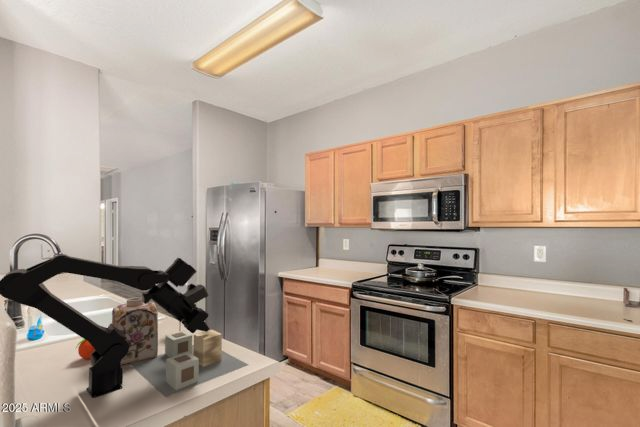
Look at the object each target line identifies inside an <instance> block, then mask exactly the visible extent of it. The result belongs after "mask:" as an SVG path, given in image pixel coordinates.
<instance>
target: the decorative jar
mask: <svg viewBox="0 0 640 427" xmlns="http://www.w3.org/2000/svg"><path fill="white" fill-rule="evenodd" d="M156 304H157V303H156V302H154V301H149V302H148V303H147V304H144V303H143V302H142V297H140V296H138V297H131V298H127V299H126V303H123V304H119V305H116V306H114V307H113V308H112V312H111V318H112V319H111V323H112V324H113V325H114V326H115V327H116V328H117V329H118V330H122V331H123V332H124V334H125V335H126V337H127V339H126V340H127V342H128V344H129V351H128V353H127V355H126V356H125V357H124V358H123V359H122V360H121V362H120V363H121V366H123V365H126V364H131V363H135V362H138V361H141V360H145V359H149V358H153V357H157V356H158V355H159V354H158V352H159V318H158V315H159V312H158V308H157V305H156Z"/></svg>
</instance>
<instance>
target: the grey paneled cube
mask: <svg viewBox="0 0 640 427" xmlns="http://www.w3.org/2000/svg"><path fill="white" fill-rule="evenodd" d="M198 372H199V359H198V358H197V357H195V356H193V355H192V354H190V353H189V352H188V353H185V354H181V355H178V356H175V357H172V358H168V359H166V382H167V383H168V384H169V385H170V386H171V387H173V388H174V389H175V390H177V389H180V388H183V387H185V386H188V385H190V384H193V383H196V382H198Z"/></svg>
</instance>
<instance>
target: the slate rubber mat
mask: <svg viewBox="0 0 640 427" xmlns="http://www.w3.org/2000/svg"><path fill="white" fill-rule="evenodd" d="M193 353H194V344H192V355H193ZM168 358H170V357H168V356H167V355H166V354H165V353H163V354H158V355H157V357H153V358H149V359H145V360H141V361H136V362H132V363H129V365H130V366H131V367H132V368H133V369H134V370H135V371H137V372H138V374H140V375H141V376H142V377H143V378H144V379H145V380H146V381H148V383H150V385H152V386H153V387H154V388H155V389H156V390H157V391H159V392H160V394H162V395H163V396H164V397H165V398H168V397H171V396H173V395H176V394H178V393H181V392H184V391H186V390H188V389H191V388H193V387H196V386H199V385H201V384H204V383H206V382H209V381H211V380H214V379H216V378H220V377H221V376H224V375H227V374H228V373H232V372H234V371H236V370H239V369H242V368H244V367H247V366H249V364H248V363H246V362H245V361H242V360H241V359H239V358H237V357H235V356H234V355H231V354H230V353H227V352H225V351H224V350H222V356H221V361H218V362H215V363H212V364H210V365H207V366H204V367H203V366H201V365H199V372H198V382H196V383H193V384H190V385H188V386H185V387H183V388H180V389H177V390H175V389H174V388H173V387H171V386H170V385H169V384H168V383H167V382H166V359H168Z"/></svg>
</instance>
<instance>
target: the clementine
mask: <svg viewBox="0 0 640 427" xmlns="http://www.w3.org/2000/svg"><path fill="white" fill-rule="evenodd" d="M75 349H77V351H78V355H79V357H81V358H82V359H83V360H86V361H87V360H89V361H91V358H90V355H91V354H92V353H93V352H94V351H95V349H94V348H93V346H92V345H91V344H90V343H89V342H88V341H87V340H85V339H84V338H82V340H80V341H79V343H77V345H76V347H75Z"/></svg>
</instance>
